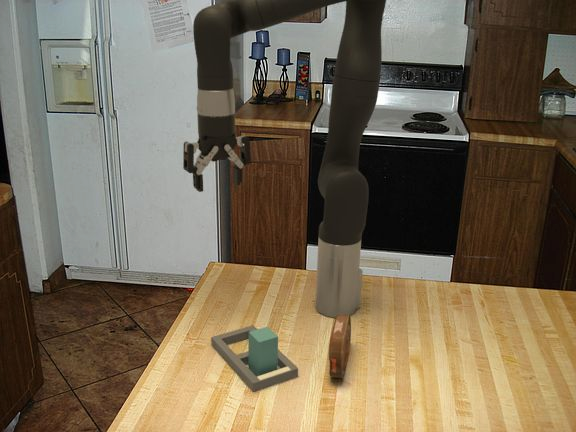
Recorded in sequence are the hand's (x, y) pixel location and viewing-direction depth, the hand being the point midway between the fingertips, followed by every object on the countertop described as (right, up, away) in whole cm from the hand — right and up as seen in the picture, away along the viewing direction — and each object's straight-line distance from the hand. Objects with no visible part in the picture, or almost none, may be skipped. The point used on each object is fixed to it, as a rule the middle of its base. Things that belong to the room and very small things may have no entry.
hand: (218, 187), depth 133 cm
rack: (+8, -34, -10) cm, 36 cm away
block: (+10, -35, -13) cm, 39 cm away
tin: (+24, -35, -10) cm, 44 cm away
